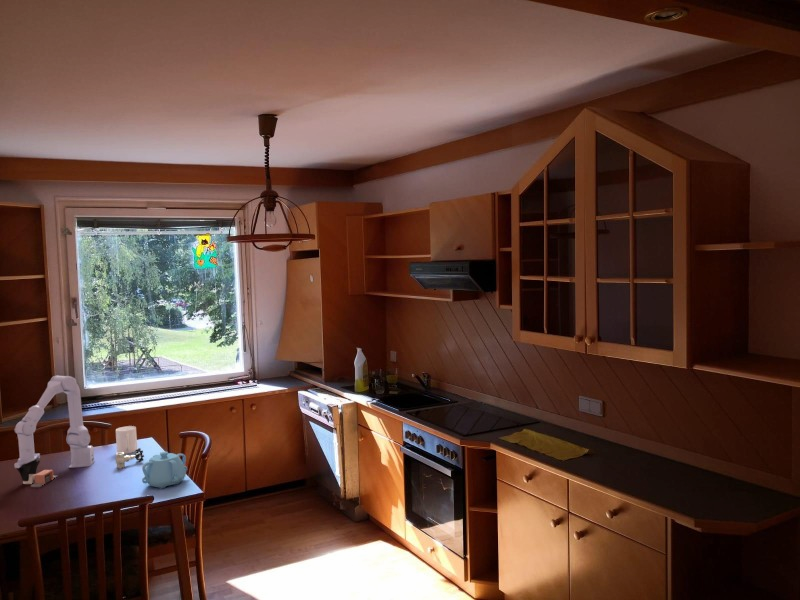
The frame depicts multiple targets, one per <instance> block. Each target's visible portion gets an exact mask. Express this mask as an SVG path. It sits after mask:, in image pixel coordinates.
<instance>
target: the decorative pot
mask: <svg viewBox="0 0 800 600" xmlns="http://www.w3.org/2000/svg"><path fill="white" fill-rule="evenodd" d="M180 457H182V459H181V458H180ZM186 461H187V457H186V455H185V454H184V453H177V454H176V453H172V452H170V453H169V452H168V451H161V452H160V453H159V454H154V455H152V457H150V458H149V460H148V461H147V462H144V463H143V465H142V472H143V473H142V474H143V475H144V477H142V480H141V482H142V484H147V485H149V486H152V487H154V488H159V489H160V488H162V489H165V488H166V487H167V486H172V485H179V484H180V483H181V482H182V481H184V479H185V477H186V474H187V473H186V472H187V471H188V467H187V466H186Z"/></svg>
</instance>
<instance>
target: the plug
mask: <svg viewBox="0 0 800 600" xmlns="http://www.w3.org/2000/svg"><path fill="white" fill-rule="evenodd" d="M36 474H37V473H36ZM36 474H29V480H28V481H23V480H22V484H23V485H32V483H33V484H34V483H35V477H34V475H36ZM50 481H51V480H50V475H45V484H47V483H49V482H50Z"/></svg>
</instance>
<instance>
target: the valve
mask: <svg viewBox="0 0 800 600" xmlns="http://www.w3.org/2000/svg"><path fill="white" fill-rule="evenodd" d="M143 453H144V450H142V449H141V447H137V449H136V451H135V452H134V454H131V455H129V454H124V452H119V453H117V452H116V453H115V464H116V469H123V468H125V467H126V463H128V462H130V460H134V459H135V460H137V462H138V463H140V462H141V463H142V462H144V457H145V455H144V454H143ZM122 467H123V468H122Z"/></svg>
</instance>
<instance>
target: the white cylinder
mask: <svg viewBox="0 0 800 600" xmlns="http://www.w3.org/2000/svg"><path fill="white" fill-rule="evenodd" d="M137 437H138V435H137V427H136V426H134V425H133V426H132V425H128V426H122V427H118V428H116V429H115V439H116V440H115V442H116V453H119V452H124V455H128V454H127V453H129V454H133V453H135V452H137V451H136V449H138V439H137ZM132 452H133V453H132Z"/></svg>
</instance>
